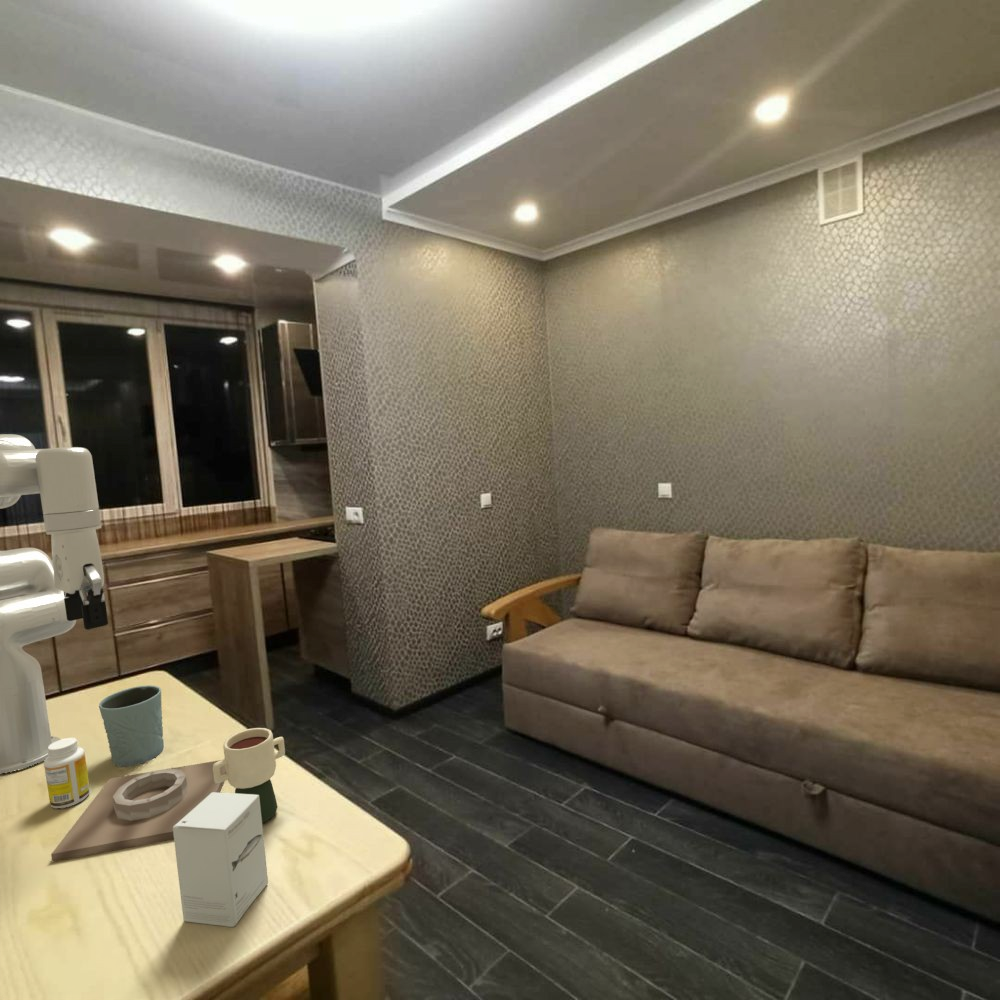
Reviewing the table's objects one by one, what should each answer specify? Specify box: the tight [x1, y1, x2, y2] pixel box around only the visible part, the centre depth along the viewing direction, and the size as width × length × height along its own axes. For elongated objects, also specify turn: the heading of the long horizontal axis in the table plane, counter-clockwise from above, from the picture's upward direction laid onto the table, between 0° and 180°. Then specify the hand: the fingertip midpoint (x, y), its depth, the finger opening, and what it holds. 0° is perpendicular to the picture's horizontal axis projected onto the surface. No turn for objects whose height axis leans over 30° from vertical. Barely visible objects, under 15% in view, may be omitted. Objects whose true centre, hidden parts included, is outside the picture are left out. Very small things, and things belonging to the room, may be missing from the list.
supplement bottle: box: [43, 737, 91, 809], centre depth 100 cm, size 6×6×10 cm
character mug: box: [213, 727, 286, 824], centre depth 91 cm, size 11×7×13 cm, turn 134°
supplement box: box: [173, 792, 269, 928], centre depth 74 cm, size 7×7×13 cm
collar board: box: [50, 759, 226, 862], centre depth 96 cm, size 20×20×4 cm
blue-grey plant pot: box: [98, 684, 165, 768], centre depth 113 cm, size 10×10×12 cm
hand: (87, 622), depth 99 cm, fingers open, 9 cm apart
